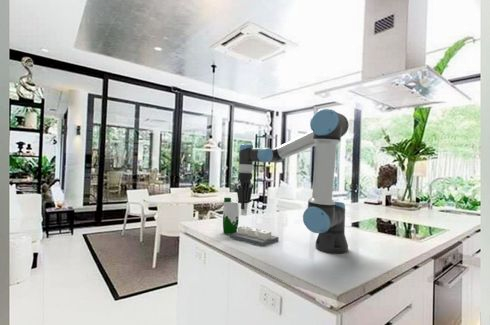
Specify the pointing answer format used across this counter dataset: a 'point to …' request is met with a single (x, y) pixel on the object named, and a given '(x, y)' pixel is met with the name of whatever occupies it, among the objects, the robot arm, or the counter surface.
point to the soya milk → (230, 216)
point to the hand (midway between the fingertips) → (243, 215)
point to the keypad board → (253, 239)
